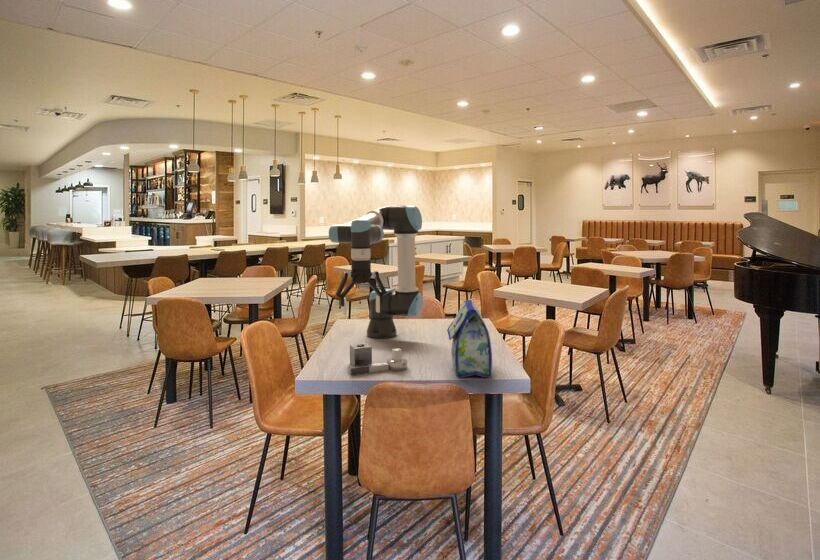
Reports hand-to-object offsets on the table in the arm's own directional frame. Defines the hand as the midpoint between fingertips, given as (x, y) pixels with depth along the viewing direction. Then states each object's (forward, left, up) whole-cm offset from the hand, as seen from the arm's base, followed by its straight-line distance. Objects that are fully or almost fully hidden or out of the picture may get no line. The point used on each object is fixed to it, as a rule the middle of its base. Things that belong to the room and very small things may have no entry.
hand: (361, 313), depth 188 cm
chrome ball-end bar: (+9, +4, -21) cm, 23 cm away
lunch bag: (+22, +37, -21) cm, 48 cm away
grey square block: (0, 0, -21) cm, 21 cm away
